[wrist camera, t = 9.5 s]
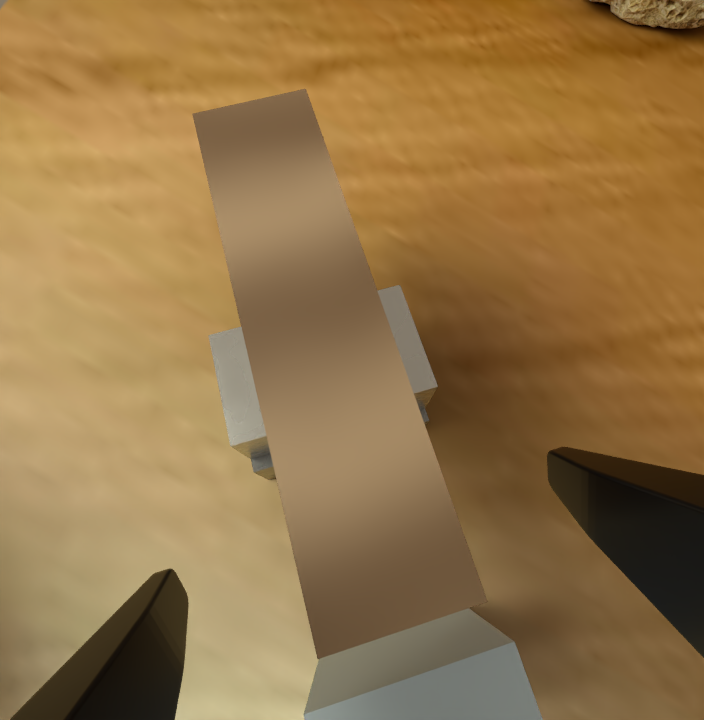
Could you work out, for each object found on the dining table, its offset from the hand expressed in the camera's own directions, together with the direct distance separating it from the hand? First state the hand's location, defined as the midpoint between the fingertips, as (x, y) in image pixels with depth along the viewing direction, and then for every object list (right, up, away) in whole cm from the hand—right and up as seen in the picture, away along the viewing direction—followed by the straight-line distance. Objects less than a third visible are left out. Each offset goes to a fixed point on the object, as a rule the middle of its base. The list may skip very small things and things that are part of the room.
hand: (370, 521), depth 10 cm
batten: (-1, +4, +5) cm, 6 cm away
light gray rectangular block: (+2, -8, +7) cm, 11 cm away
